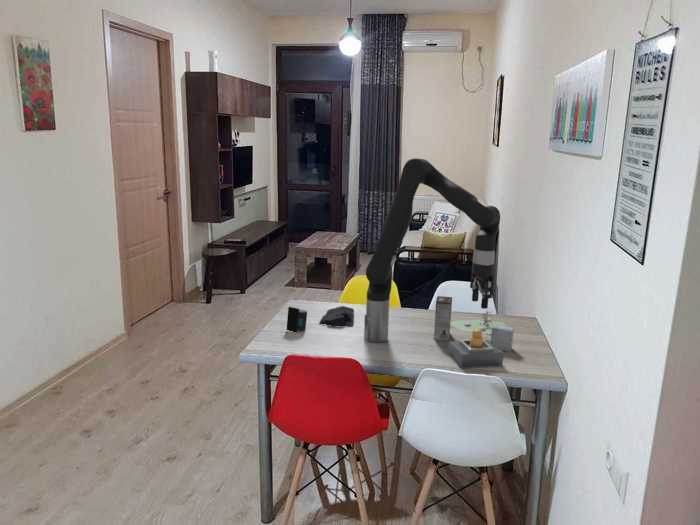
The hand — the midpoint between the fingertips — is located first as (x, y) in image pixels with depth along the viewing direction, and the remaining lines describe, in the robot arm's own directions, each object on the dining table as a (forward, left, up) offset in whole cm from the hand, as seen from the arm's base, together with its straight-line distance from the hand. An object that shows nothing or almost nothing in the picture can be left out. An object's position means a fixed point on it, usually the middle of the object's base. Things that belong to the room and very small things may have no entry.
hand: (479, 304), depth 205 cm
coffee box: (-4, +26, -22) cm, 34 cm away
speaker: (-63, +40, -22) cm, 78 cm away
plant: (+16, +36, -22) cm, 45 cm away
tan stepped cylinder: (0, 0, -17) cm, 17 cm away
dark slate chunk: (-43, +52, -22) cm, 71 cm away
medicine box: (+15, +10, -22) cm, 28 cm away
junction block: (0, 0, -22) cm, 22 cm away
